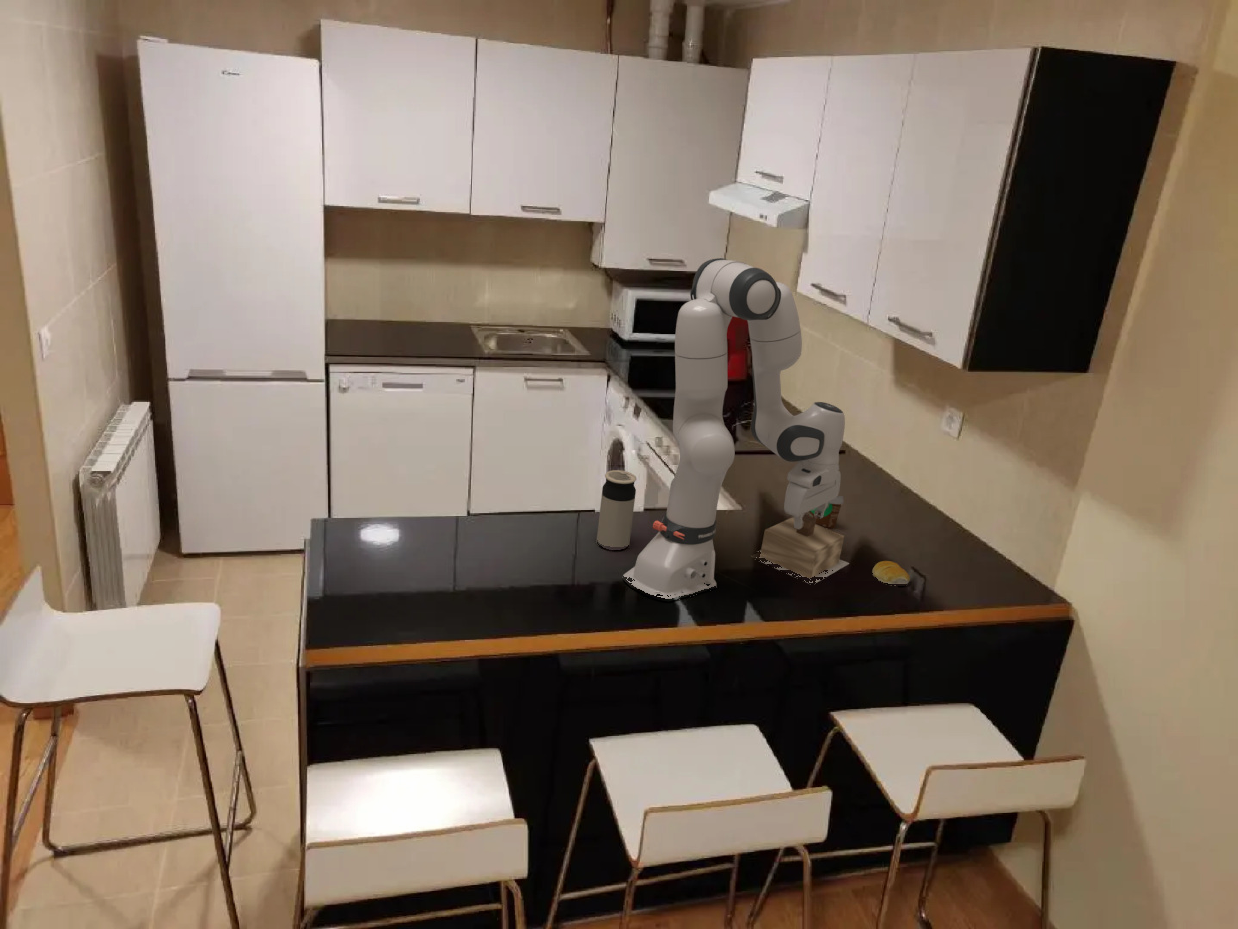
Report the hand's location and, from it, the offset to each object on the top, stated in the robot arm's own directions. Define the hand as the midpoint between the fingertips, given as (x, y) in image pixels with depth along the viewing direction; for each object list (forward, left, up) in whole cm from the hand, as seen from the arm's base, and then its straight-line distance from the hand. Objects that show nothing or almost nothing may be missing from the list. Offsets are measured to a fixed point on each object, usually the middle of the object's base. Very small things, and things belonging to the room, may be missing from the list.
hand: (808, 522), depth 223 cm
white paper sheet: (0, 0, -11) cm, 11 cm away
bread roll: (+10, -19, -11) cm, 24 cm away
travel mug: (-31, +34, -11) cm, 48 cm away
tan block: (0, 0, -10) cm, 10 cm away
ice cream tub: (+25, +10, -11) cm, 29 cm away
